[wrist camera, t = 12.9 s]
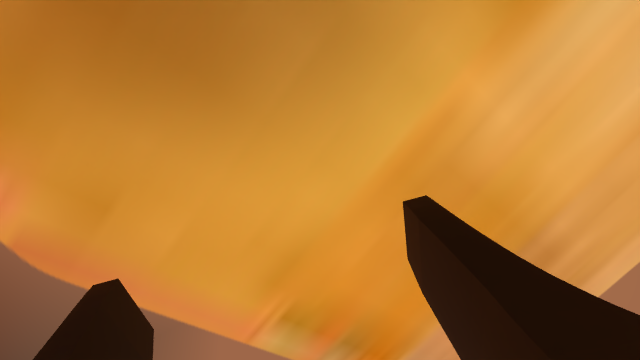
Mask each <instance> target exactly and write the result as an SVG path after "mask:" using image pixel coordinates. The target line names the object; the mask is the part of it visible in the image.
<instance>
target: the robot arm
mask: <svg viewBox="0 0 640 360" xmlns="http://www.w3.org/2000/svg"><path fill="white" fill-rule="evenodd" d="M403 210H404V221H405V233H406V245H407V257H408V261H409V263H410V265H411V268H412V270H413V272H414V275H415V277H416V279H417V282H418V284H419V286H420V288H421V291H422V293H423V295H424V297H425V298H426V300H427V302H428V304H429V305H430V307H431V309H432V311H433V312H434V314H435V316H436V318H437V319H438V321H439V323H440V324H441V326H442V328H443V330H444V331H445V333H446V335H447V336H448V338H449V340H450V342H451V343H452V345H453V347H454V348H455V350H456V352H457V354H458V355H459V357H460V359H461V360H640V315H638V314H635V313H633V312H630V311H628V310H626V309H623V308H621V307H618V306H616V305H614V304H611V303H609V302H607V301H604V300H602V299H600V298H598V297H596V296H594V295H591V294H589V293H587V292H585V291H583V290H581V289H579V288H577V287H575V286H573V285H571V284H569V283H567V282H565V281H563V280H561V279H559V278H557V277H555V276H553V275H551V274H549V273H547V272H545V271H543V270H542V269H540V268H538V267H536V266H534V265H533V264H531V263H529V262H527V261H526V260H524V259H522V258H520V257H519V256H517V255H515V254H514V253H512V252H510V251H509V250H507V249H505V248H504V247H502V246H501V245H499V244H497V243H496V242H494V241H493V240H491V239H490V238H488V237H486V236H485V235H483V234H482V233H480V232H479V231H477V230H476V229H474V228H473V227H471V226H470V225H468V224H467V223H465V222H464V221H462V220H461V219H459V218H458V217H457V216H455V215H454V214H452V213H451V212H449V211H448V210H447V209H445V208H444V207H442V206H441V205H439V204H438V203H437V202H435V201H434V200H432V199H431V198H429V197H428V196H422V197H418V198H415V199H411V200H407V201H403ZM153 335H154V329H153V328H152V326H151V325H150V323H149V322H148V320H147V319H146V318H145V316H144V315H143V313H142V312H141V311H140V309H139V308H138V306H137V305H136V303H135V302H134V300H133V299H132V298H131V296H130V295H129V293H128V292H127V290H126V289H125V288H124V286H123V285H122V283H121V282H120V280H119V279H115V280H111V281H107V282H104V283H100V284H96V285H93V286H92V287H91V288H90V290H89V291H88V292H87V293H86V294H85V295H84V297H83V298H82V299H81V300H80V302H79V303H78V304H77V305H76V306H75V308H74V309H73V310H72V311H71V313H70V314H69V315H68V316H67V318H66V319H65V320H64V321H63V323H62V324H61V325H60V326H59V328H58V329H57V330H56V331H55V333H54V334H53V335H52V336H51V338H50V339H49V340H48V341H47V343H46V344H45V345H44V346H43V348H42V349H41V350H40V351H39V353H38V354H37V355H36V356H35V358H34V359H33V360H152V358H153Z"/></svg>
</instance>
